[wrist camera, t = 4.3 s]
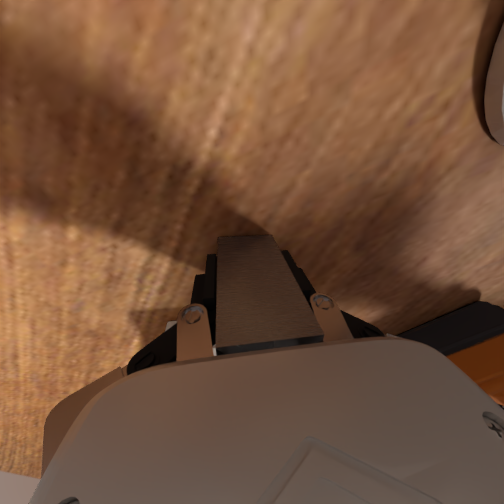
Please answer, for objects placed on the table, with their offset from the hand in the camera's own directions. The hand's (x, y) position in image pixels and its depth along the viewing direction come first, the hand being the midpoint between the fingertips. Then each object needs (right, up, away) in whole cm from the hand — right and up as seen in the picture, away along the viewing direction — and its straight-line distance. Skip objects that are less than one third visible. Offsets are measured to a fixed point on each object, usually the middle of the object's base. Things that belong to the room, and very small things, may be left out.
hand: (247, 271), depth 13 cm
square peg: (0, +1, +1) cm, 2 cm away
